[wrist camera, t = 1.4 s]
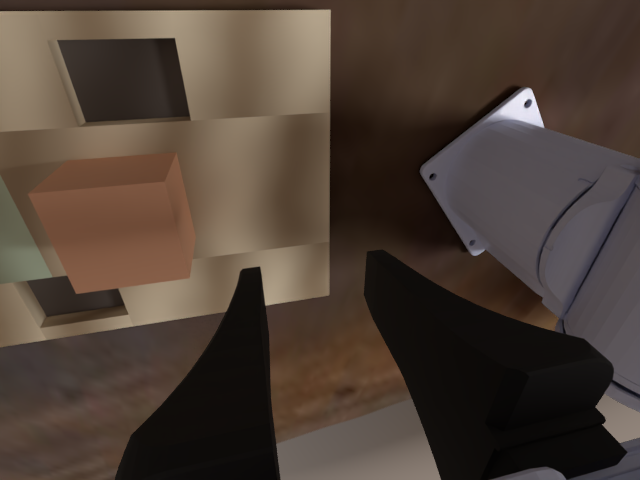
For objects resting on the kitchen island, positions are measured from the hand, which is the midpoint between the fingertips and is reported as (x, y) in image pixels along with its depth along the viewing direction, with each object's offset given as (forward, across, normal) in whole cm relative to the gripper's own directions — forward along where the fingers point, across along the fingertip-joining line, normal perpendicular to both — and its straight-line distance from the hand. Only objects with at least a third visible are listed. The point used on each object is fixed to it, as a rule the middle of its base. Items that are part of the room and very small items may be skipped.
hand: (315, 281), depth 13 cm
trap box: (+10, +8, 0) cm, 13 cm away
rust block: (+9, +8, 0) cm, 12 cm away
